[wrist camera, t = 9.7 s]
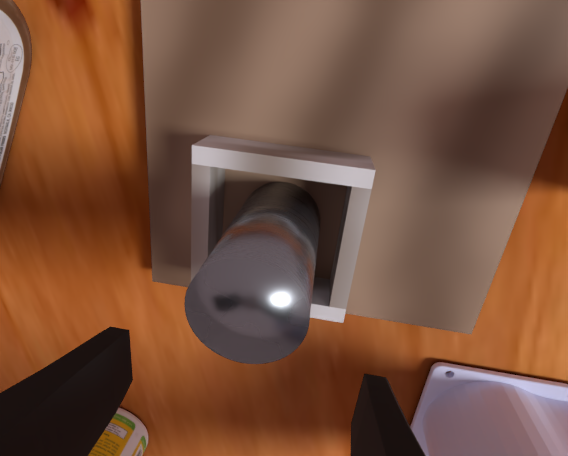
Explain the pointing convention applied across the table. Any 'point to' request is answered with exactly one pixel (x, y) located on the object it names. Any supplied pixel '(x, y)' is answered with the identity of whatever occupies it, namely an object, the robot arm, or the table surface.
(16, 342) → the table surface
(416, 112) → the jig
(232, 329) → the grey metal cylinder
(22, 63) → the tin
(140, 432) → the supplement bottle
